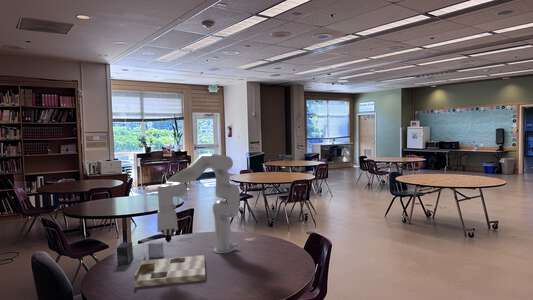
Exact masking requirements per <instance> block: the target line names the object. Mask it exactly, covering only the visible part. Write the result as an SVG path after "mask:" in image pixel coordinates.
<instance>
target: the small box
mask: <svg viewBox="0 0 533 300" xmlns="http://www.w3.org/2000/svg"><path fill="white" fill-rule="evenodd" d="M133 249H134V248H133V242H132V241H124V242H121V243H120V244H119V245H117V247H116V259H117V260H116V262H117V266H125V265H130V263H131V262H132V261H133V260H134V253H133Z"/></svg>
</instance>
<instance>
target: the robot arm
mask: <svg viewBox="0 0 533 300" xmlns="http://www.w3.org/2000/svg"><path fill="white" fill-rule="evenodd" d="M233 164H234V161H233V159H232V158H231V156H227V155H223V154H216V153H202V154H200V155H199V156H198V157H197V158H195V160H194V161H192V163H190V164H189V165H188V167H186V168H184V169H182V170H180V171H178V172H177V173H175V174H173V175H172V176H170V177H169V179H167V180H166V182H165V183H164V184H160V185H158V186H157V199H158V211H157V214H156V215H157V217H156V219H157V221H156V222H157V231H156V232H158V233H162V234H163V235H164V237H165V242H166V243H171V241H172V234H173V233H174V232H176V231H178V230H179V227H178V215H177V211H176V208H177V204H174V198H175V197H176V198H178V197H183V196H185V195H186V193H187V191H188V187H187V185H186V184H185V183H187V182H192V181H194V180H197V179H198V178H199V177H200V176H201V175H202V174H203V173H204V172H205V171H206V170H207V169H211V170H212V171H213V172H214V174H215V195H216V197H217V198H218V199H222V200H217V201H216V202H214V203H213V205H212V213H213V216H214V217H213V218H214V230H215V231H214V233H215V234H214V236H215V247H214V248H213V249H212V250H213V251H212V252H213V253H215V254H227V253H228V254H229V253H231V252H233V251H234V248H238V247H239V243H236V242H235V243H232V241H231V221H230V218H236V217H237V216H238V215H239V212H240V200H241V199H240V196H241V195H240V193H241V192H240V188H239V187H238V185H237V184H233V183H230V174H229V170H231V169H232V167H233Z"/></svg>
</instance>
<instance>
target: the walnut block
mask: <svg viewBox="0 0 533 300" xmlns="http://www.w3.org/2000/svg"><path fill="white" fill-rule="evenodd" d="M154 260H155V259H148V260H147V259H146V260H144V261H142V263H141V272H147V271H153V270H154V267H155V263H154Z"/></svg>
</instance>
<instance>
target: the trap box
mask: <svg viewBox="0 0 533 300" xmlns="http://www.w3.org/2000/svg"><path fill="white" fill-rule="evenodd" d="M144 260H147V258H146V255H143V256H142V258H141V260H140V262H139V265H138V266H137V269H136V271H135V273H134V276H133V277H134V278H133V279H134V288H140V287H141V288H142V287H150V286H160V285H161V286H162V285H172V284H180V283H181V284H182V283H190V282H198V281H206V265H205V263H206V262H205V254H204V255H191V256H183V257H182V256H181V257H169V258H159V259H153V260H154V263H155V267H154V270H153V271H147V272H141V263H142V261H144Z"/></svg>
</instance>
